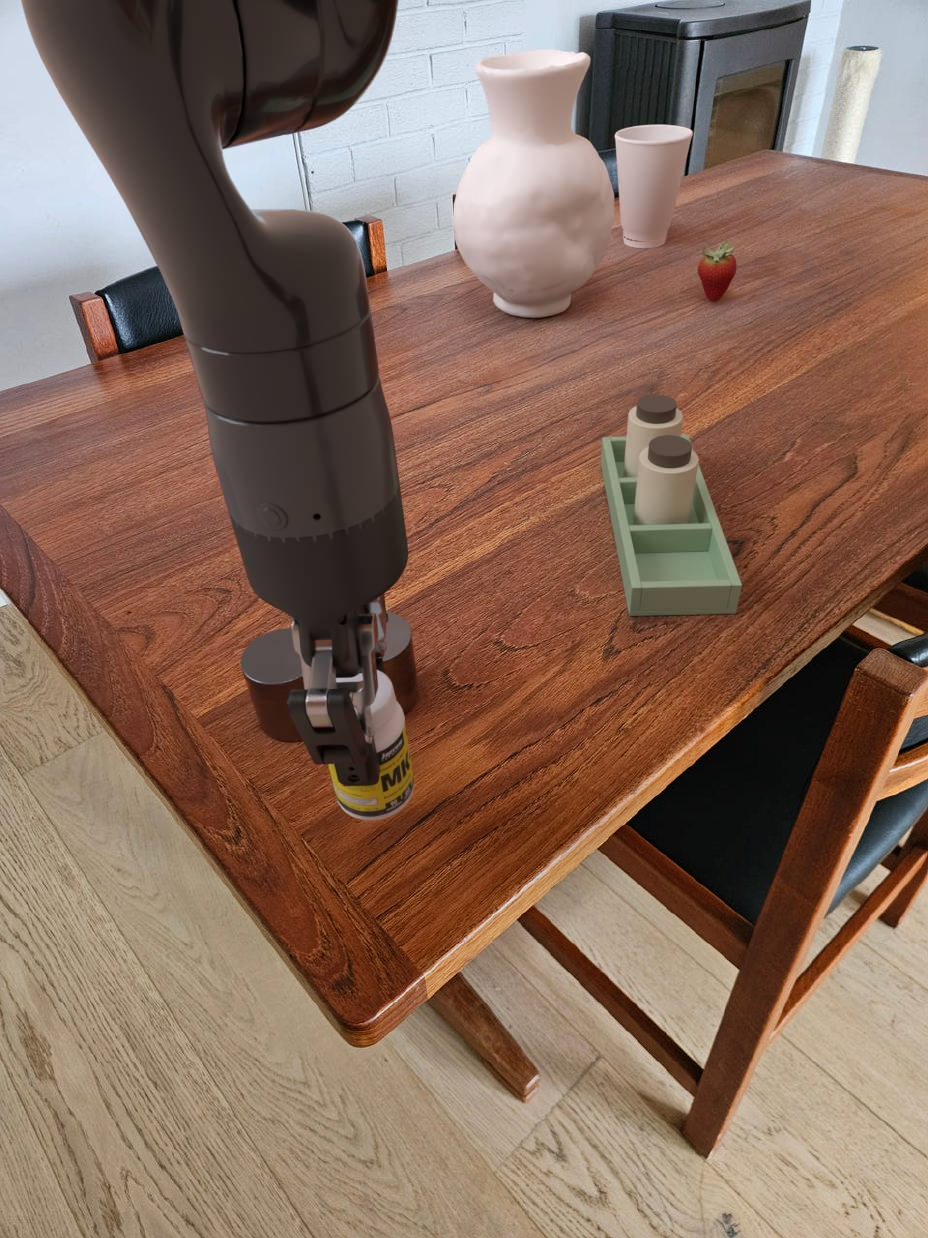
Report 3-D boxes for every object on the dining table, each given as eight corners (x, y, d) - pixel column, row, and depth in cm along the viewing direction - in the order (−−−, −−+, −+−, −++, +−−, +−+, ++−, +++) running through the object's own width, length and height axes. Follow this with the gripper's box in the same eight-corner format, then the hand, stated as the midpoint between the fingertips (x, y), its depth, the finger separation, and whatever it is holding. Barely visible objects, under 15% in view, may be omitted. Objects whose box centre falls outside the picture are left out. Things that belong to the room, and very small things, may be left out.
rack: (684, 460, 85) (688, 433, 83) (736, 613, 67) (742, 585, 65) (600, 462, 85) (601, 436, 83) (629, 616, 67) (632, 587, 65)
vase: (433, 311, 119) (413, 63, 99) (538, 271, 129) (539, 39, 109) (522, 346, 108) (521, 76, 88) (630, 300, 118) (649, 48, 98)
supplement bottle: (398, 831, 47) (379, 733, 42) (323, 813, 48) (295, 716, 43) (426, 767, 50) (412, 669, 45) (356, 752, 52) (334, 655, 46)
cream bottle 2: (693, 515, 76) (706, 436, 71) (681, 545, 73) (693, 464, 68) (641, 505, 78) (649, 427, 73) (626, 534, 75) (633, 454, 69)
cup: (684, 252, 132) (697, 139, 122) (609, 253, 134) (616, 142, 123) (677, 229, 141) (689, 122, 131) (607, 231, 142) (613, 125, 132)
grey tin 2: (431, 679, 63) (424, 620, 59) (397, 731, 59) (387, 672, 55) (367, 661, 65) (357, 602, 61) (330, 710, 61) (316, 651, 57)
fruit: (685, 301, 117) (693, 242, 111) (709, 291, 119) (717, 232, 114) (715, 310, 114) (724, 249, 108) (739, 299, 116) (749, 240, 111)
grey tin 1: (348, 697, 62) (336, 639, 58) (308, 751, 58) (292, 692, 54) (286, 678, 64) (270, 620, 60) (243, 729, 60) (223, 671, 56)
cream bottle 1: (679, 471, 82) (690, 394, 77) (667, 497, 79) (677, 419, 73) (630, 462, 84) (637, 387, 78) (616, 487, 81) (622, 411, 75)
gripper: (381, 580, 30) (424, 850, 41) (410, 403, 41) (438, 654, 52) (179, 587, 30) (276, 852, 41) (261, 410, 41) (320, 657, 52)
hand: (366, 741), depth 47 cm, fingers closed on supplement bottle, 4 cm apart
